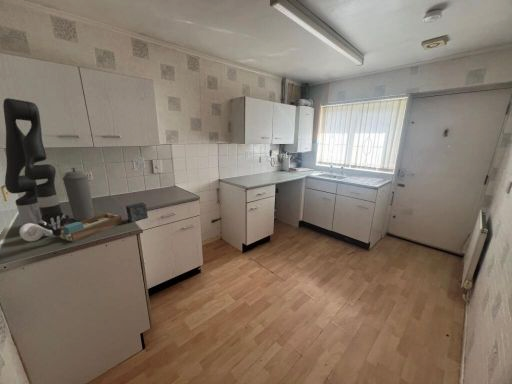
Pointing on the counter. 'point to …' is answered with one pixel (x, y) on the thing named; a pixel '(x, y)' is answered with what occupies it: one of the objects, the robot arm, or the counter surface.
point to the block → (72, 227)
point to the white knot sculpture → (33, 232)
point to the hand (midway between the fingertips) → (57, 235)
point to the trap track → (92, 226)
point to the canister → (79, 195)
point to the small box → (136, 212)
